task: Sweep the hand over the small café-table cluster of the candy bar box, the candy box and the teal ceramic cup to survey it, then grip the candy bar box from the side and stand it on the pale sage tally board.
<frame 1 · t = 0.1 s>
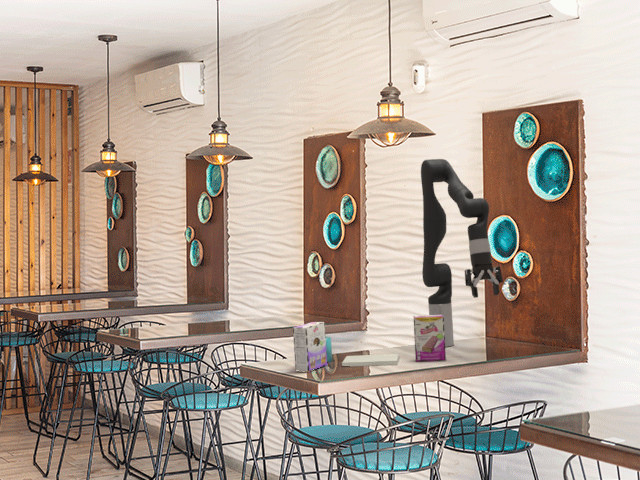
hand: (486, 296, 300), 22 cm above the table, tool pointing down, fingers open, 8 cm apart
tally board: (371, 362, 306), on the table
candy box: (311, 369, 301), on the table
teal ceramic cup: (323, 361, 315), on the table
candy bar box: (431, 360, 303), on the table
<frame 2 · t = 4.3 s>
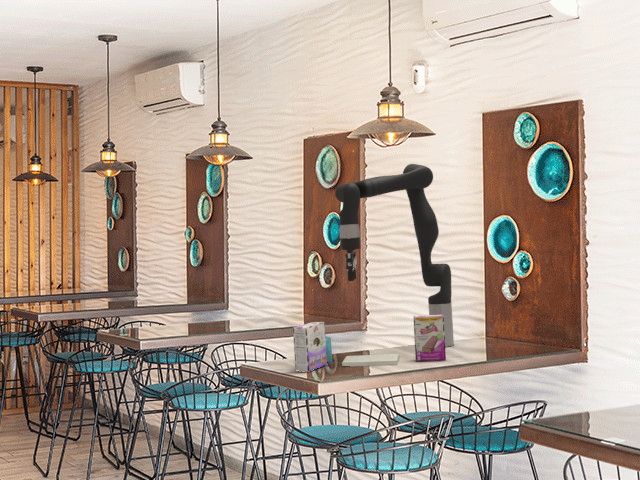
hand: (352, 280, 308), 31 cm above the table, tool pointing down, fingers open, 8 cm apart
nothing on the table moved.
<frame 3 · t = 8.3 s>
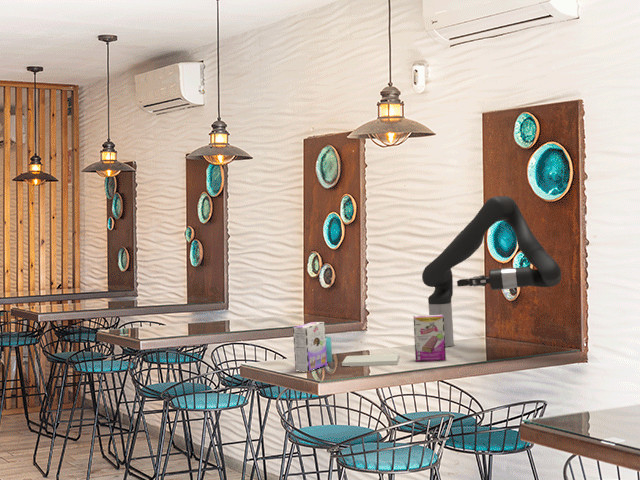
hand: (458, 283, 300), 28 cm above the table, tool horizontal, fingers open, 8 cm apart
nothing on the table moved.
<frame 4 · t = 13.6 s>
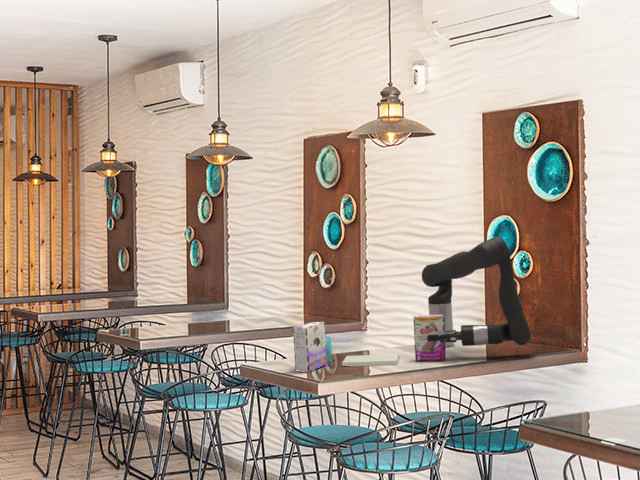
hand: (427, 337, 303), 9 cm above the table, tool horizontal, fingers closed on candy bar box, 5 cm apart
candy bar box: (430, 360, 303), on the table, touching gripper
everything else where it was.
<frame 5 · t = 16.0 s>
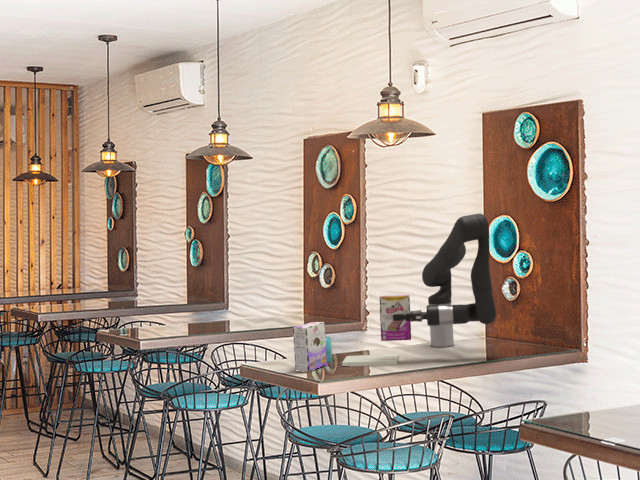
hand: (393, 316, 302), 17 cm above the table, tool horizontal, fingers closed on candy bar box, 5 cm apart
candy bar box: (396, 340, 302), point 8 cm above the table, touching gripper
everything else where it was.
when the fingers open (11 cm above the table, at t = 18.5 s): candy bar box drops 1 cm, resting on tally board.
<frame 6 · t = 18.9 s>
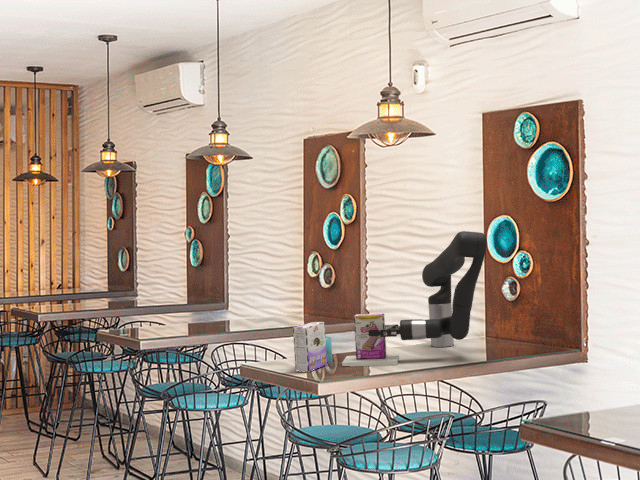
hand: (369, 331, 306), 11 cm above the table, tool horizontal, fingers open, 8 cm apart
candy bar box: (371, 358, 306), point 1 cm above the table, touching tally board
everything else where it was.
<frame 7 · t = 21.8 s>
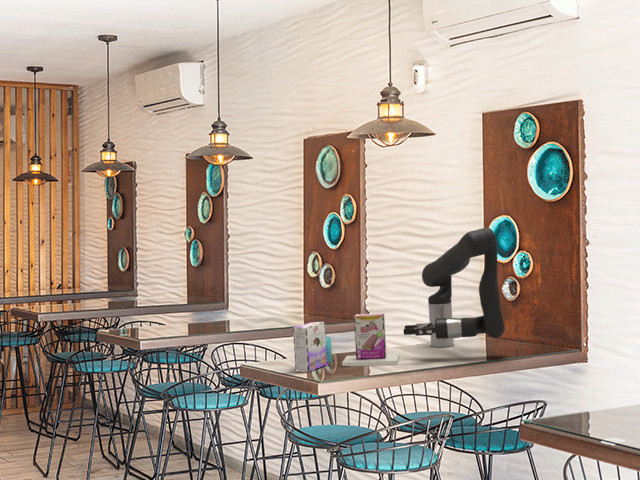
hand: (404, 330, 304), 11 cm above the table, tool horizontal, fingers open, 8 cm apart
nothing on the table moved.
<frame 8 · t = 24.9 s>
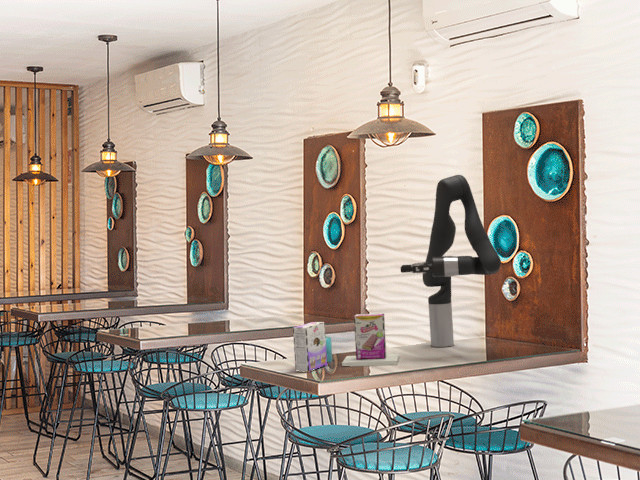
hand: (401, 268, 306), 34 cm above the table, tool horizontal, fingers open, 8 cm apart
nothing on the table moved.
at the end: candy bar box inside the target area on the tally board (0.2 cm from its centre), point 1.3 cm above the tally board's base; candy bar box tilted 0°; the gripper is holding nothing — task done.
